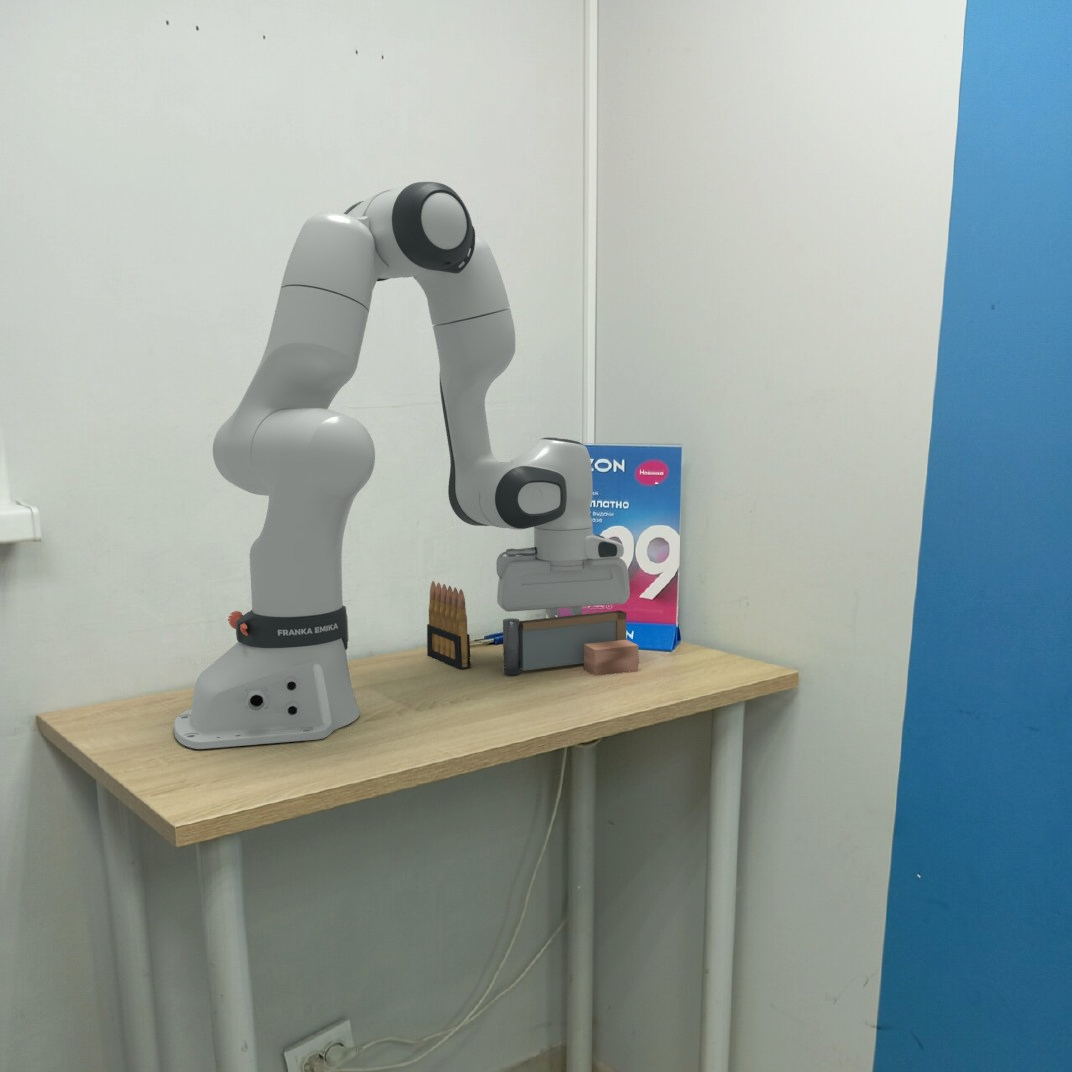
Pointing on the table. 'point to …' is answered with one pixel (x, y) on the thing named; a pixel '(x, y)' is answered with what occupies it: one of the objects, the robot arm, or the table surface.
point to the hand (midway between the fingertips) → (564, 636)
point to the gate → (566, 637)
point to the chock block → (611, 657)
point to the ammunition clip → (448, 627)
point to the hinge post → (511, 647)
